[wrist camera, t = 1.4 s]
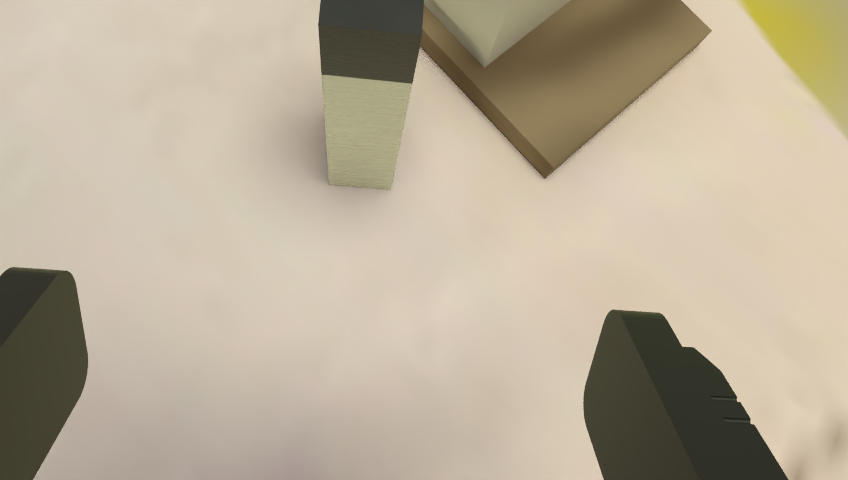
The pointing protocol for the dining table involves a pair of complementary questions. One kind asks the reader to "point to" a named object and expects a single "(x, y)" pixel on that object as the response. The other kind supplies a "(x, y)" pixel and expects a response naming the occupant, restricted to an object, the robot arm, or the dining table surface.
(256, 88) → the dining table surface
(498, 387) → the dining table surface
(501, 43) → the pale open square box
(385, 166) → the grey tall bar
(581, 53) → the serving board
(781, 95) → the dining table surface
